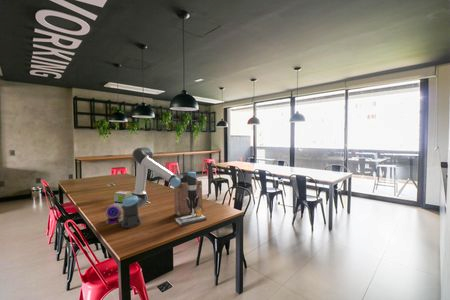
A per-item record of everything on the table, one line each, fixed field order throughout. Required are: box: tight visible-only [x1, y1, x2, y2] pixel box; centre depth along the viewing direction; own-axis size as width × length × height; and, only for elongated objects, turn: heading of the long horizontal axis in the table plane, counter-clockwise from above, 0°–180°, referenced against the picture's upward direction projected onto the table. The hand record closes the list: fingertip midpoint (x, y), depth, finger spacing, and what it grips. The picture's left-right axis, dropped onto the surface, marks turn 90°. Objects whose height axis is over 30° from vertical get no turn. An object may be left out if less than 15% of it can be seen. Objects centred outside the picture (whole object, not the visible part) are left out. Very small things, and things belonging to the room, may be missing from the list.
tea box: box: [113, 190, 133, 208], centre depth 233 cm, size 15×10×15 cm, turn 73°
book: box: [173, 178, 203, 217], centre depth 208 cm, size 25×9×30 cm, turn 130°
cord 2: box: [180, 217, 207, 227], centre depth 182 cm, size 2×23×2 cm, turn 123°
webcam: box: [105, 203, 123, 224], centre depth 189 cm, size 13×13×15 cm
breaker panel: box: [175, 214, 206, 226], centre depth 188 cm, size 11×23×2 cm, turn 123°
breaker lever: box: [195, 208, 203, 217], centre depth 192 cm, size 4×4×7 cm
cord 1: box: [173, 212, 196, 221], centre depth 196 cm, size 2×23×2 cm, turn 123°
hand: (192, 215), depth 190 cm, fingers closed
